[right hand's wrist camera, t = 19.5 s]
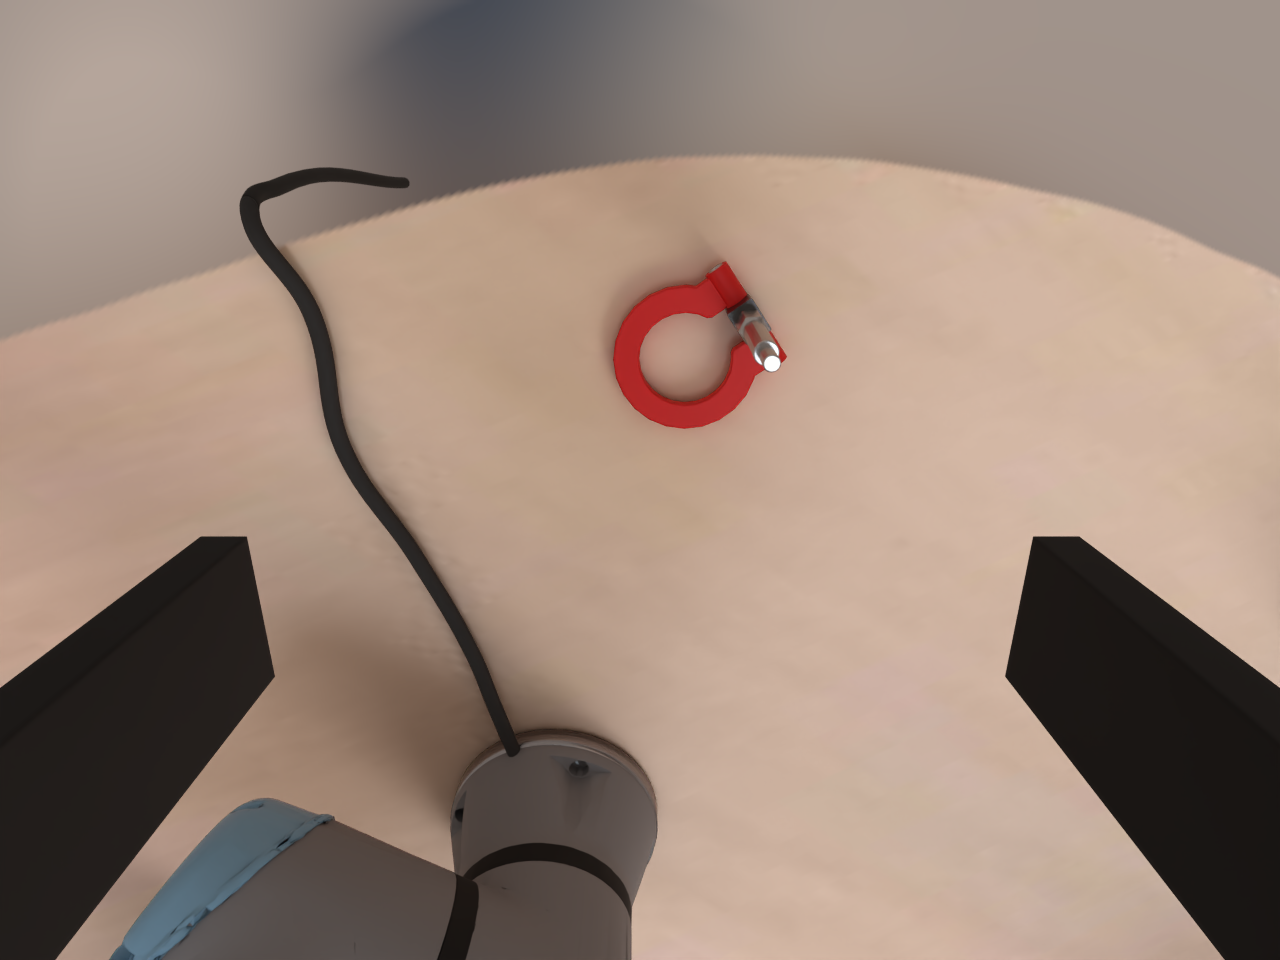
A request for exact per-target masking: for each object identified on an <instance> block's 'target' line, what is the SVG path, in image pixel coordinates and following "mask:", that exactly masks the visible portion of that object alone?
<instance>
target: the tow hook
mask: <svg viewBox="0 0 1280 960" xmlns="http://www.w3.org/2000/svg"><path fill="white" fill-rule="evenodd" d="M725 308H726V312H727V315H728V317H729V319H730V320H731V322H732V323H733V325H734V326H735V328H736V329H737V331H738V333H739V334H740V336H741V337H742V339H743V340H744V341H742V342H741V343H739V344H738V345H736V346H735V347H733V348H732V351H731V362H730V368H729V371H728V373H727V375H726V377H725V380H724V381H723V382H722V384H721V385H720V386H719V387H718V388H717V390H715V391H714V392H712V393H711V394H710V395H708V396H707V397H704V398H702V399H699V400H697V401H690V402H680V401H672V400H670V399H668V398H665V397H663V396H661V395H660V394H658V393H657V392H656V391H654V390H653V389H652V388H651V387H650V385H649V384H648V383H647V381H646V380H645V378H644V376H643V373H642V371H641V367H640V360H639V354H640V347H641V344H642V342H643V340H644V337H645V335H646V334H647V333H648V332H649V330H650V329H651V328H652V326H654V325H655V324H656V323H658V322H659V321H660V320H662V319H663V318H666V317H668V316H671V315H673V314H680V313H692V314H699V315H701V316H703V317H706V318H712V317H713V316H715V315H716V314H718V313H719V312H721V311H722V310H724V309H725ZM786 357H787V356H786V354H785V353H784V351H783V350H782V348H781V347H780V345H779V343H778V342H777V340H776V339H775V337H774V336H773V334H772V332H771V328H770V326H769V324H768V323H767V321H766V320H765V318H764V317H763V315H762V313H761V312H760V310H759V309H758V307H757V306H756V304H755V302H754V301H753V299H752V298H751V296H750V295H749V294H747V293H746V292H745V290H744V289H743V287H742V286H741V284H740V282H739V281H738V279H737V278H736V276H735V275H734V273H733V272H732V270H731V268H730V267H729V265H728V264H727V262H723V263H720V264H718V265H717V266H715V267H714V268H713V269H711V270H710V271H709V272H708V273H707V275H706V279H705V280H703V281H702V282H701V283H699V284H698V285H696V286H693V285H680V286H672V287H666V288H664V289H662V290H659V291H657V292H655V293H652V294H650V295H648V296H647V297H646V298H645V299H643V300H642V301H641V302H640V303H638V304H637V305H636V306H634V308H633V309H632V310H631V312H630V313H629V314H628V316H627V317H626V318H625V320H624V321H623V323H622V326H621V328H620V331H619V333H618V336H617V338H616V341H615V349H614V358H613V361H614V367H615V374H616V379H617V381H618V383H619V386H620V388H621V390H622V392H623V395H624V396H625V397H626V398H627V400H628V401H629V402H630V403H631V405H632V406H633V407H634V408H635V409H636V410H637V411H639V412H640V413H641V414H643V415H644V416H645V417H647V418H648V419H649V420H652V421H654V422H657V423H659V424H662V425H664V426H668V427H676V428H683V429H685V428H694V427H702V426H705V425H707V424H710V423H713V422H715V421H718V420H720V419H721V418H723V417H724V416H725V415H727V414H728V413H730V412H731V411H733V410H734V409H735V408H736V407H737V405H738V404H739V403H740V402H741V401H742V400H743V398H744V397H745V396H746V394H747V392H748V390H749V388H750V386H751V384H752V382H753V380H754V377H755V375H757V374H758V373H760V372H762V371H763V370H766V371H768V372H775V371H777V370H778V369H779V368H780V366H781V363H782V362H783V361H784V360H785V359H786Z"/></svg>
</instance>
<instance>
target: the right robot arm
mask: <svg viewBox="0 0 1280 960" xmlns="http://www.w3.org/2000/svg"><path fill="white" fill-rule="evenodd" d="M319 182H347V183H356V184H364V185H370V186H377V187H385V188H408V186H409V185H410V182H409V180H408V179H407V178H405V177H392V176H385V175H379V174H373V173H368V172H363V171H357V170H352V169H344V168H333V167H319V168H311V169H304V170H300V171H295V172H291V173H288V174H285V175H282V176H280V177H277V178H275V179H272V180H269V181H266V182H261V183H258V184H254V185H252V186H250V187H249V188H247V190H246V191H245V192H244V194H243V195H242V197H241V200H240V215H241V220H242V223H243V226H244V229H245V232H246V234H247V236H248V238H249V240H250V242H251V244H252V245H253V247H254V248H255V250H256V251H257V253H258V254H259V255H260V257H261V258H262V259H263V260H264V262H265V263H266V264H267V265H268V266H269V268H270V269H271V270H272V271H273V272H274V274H275V275H276V276H277V277H278V278H279V280H280V281H281V282H282V283H283V284H284V286H285V287H286V288H287V290H288V291H289V292H290V294H291V295H292V297H293V298H294V300H295V301H296V303H297V305H298V307H299V309H300V311H301V313H302V315H303V317H304V320H305V322H306V325H307V327H308V331H309V334H310V337H311V340H312V344H313V348H314V353H315V358H316V364H317V371H318V379H319V387H320V395H321V402H322V408H323V413H324V418H325V422H326V426H327V429H328V433H329V436H330V439H331V442H332V444H333V446H334V449H335V451H336V454H337V456H338V458H339V460H340V462H341V464H342V466H343V468H344V470H345V471H346V473H347V475H348V477H349V478H350V480H351V482H352V483H353V485H354V486H355V488H356V489H357V491H358V492H359V494H360V495H361V497H362V498H363V499H364V501H365V502H366V503H367V505H368V506H369V507H370V509H371V510H372V511H373V513H374V514H375V515H376V516H377V518H378V519H379V520H380V521H381V523H382V524H383V525H384V526H385V528H386V529H387V530H388V532H389V533H390V534H391V536H392V537H393V538H394V540H395V541H396V542H397V544H398V545H399V547H400V548H401V549H402V551H403V552H404V554H405V555H406V557H407V558H408V560H409V561H410V563H411V565H412V566H413V568H414V569H415V571H416V572H417V574H418V576H419V577H420V579H421V580H422V582H423V583H424V585H425V587H426V588H427V590H428V591H429V593H430V595H431V596H432V598H433V599H434V601H435V603H436V604H437V606H438V607H439V609H440V611H441V612H442V614H443V616H444V618H445V619H446V621H447V623H448V624H449V626H450V628H451V630H452V632H453V633H454V635H455V637H456V639H457V641H458V643H459V645H460V646H461V648H462V650H463V652H464V654H465V656H466V658H467V660H468V662H469V664H470V667H471V669H472V671H473V673H474V676H475V678H476V681H477V683H478V686H479V688H480V691H481V693H482V696H483V699H484V701H485V704H486V706H487V708H488V711H489V713H490V716H491V718H492V720H493V723H494V725H495V727H496V730H497V732H498V734H499V737H500V739H501V741H499V742H497V743H496V744H494V745H492V746H491V747H489V748H488V749H486V750H485V751H484V752H482V753H481V754H480V755H479V756H478V757H477V758H476V759H475V760H474V761H473V762H472V763H471V764H470V766H469V767H468V768H467V770H466V771H465V773H464V775H463V777H462V779H461V781H460V784H459V786H458V789H457V793H456V796H455V799H454V802H453V806H452V810H451V840H452V850H453V860H454V870H455V873H454V872H452V871H449V870H447V869H445V868H442V867H440V866H438V865H435V864H433V863H431V862H428V861H426V860H424V859H421V858H419V857H416V856H414V855H412V854H410V853H407V852H405V851H403V850H401V849H398V848H396V847H394V846H392V845H389V844H387V843H385V842H383V841H380V840H378V839H376V838H374V837H371V836H369V835H367V834H365V833H362V832H360V831H358V830H356V829H353V828H351V827H349V826H347V825H344V824H342V823H340V822H338V821H335V818H334V816H332V815H329V814H321V815H318V814H315V813H312V812H309V811H307V810H304V809H301V808H299V807H296V806H293V805H290V804H288V803H285V802H282V801H280V800H276V799H271V798H260V799H255V800H252V801H249V802H247V803H244V804H243V805H241V806H239V807H237V808H236V809H235V810H233V811H232V812H231V813H229V814H228V815H227V816H226V817H225V818H224V819H223V820H221V821H220V822H219V823H218V824H217V825H216V826H215V827H214V828H213V829H212V830H211V831H210V832H209V833H208V834H207V835H206V837H205V838H204V839H203V840H202V841H201V842H200V843H199V844H198V845H197V847H196V848H195V849H194V850H193V851H192V852H191V853H190V854H189V856H188V857H187V858H186V859H185V860H184V861H183V863H182V864H181V865H180V866H179V867H178V869H177V870H176V871H175V872H174V873H173V875H172V876H171V877H170V878H169V879H168V881H167V882H166V883H165V884H164V886H163V887H162V888H161V889H160V891H159V892H158V893H157V894H156V896H155V897H154V898H153V899H152V901H151V902H150V903H149V904H148V906H147V907H146V908H145V910H144V911H143V912H142V913H141V915H140V916H139V917H138V919H137V920H136V921H135V923H134V924H133V926H132V927H131V928H130V930H129V931H128V932H127V934H126V935H125V937H124V940H123V943H122V945H121V946H119V947H118V948H117V949H116V951H115V952H114V953H113V955H112V956H111V958H110V959H109V960H631V916H632V905H633V902H634V900H635V897H636V894H637V892H638V889H639V886H640V883H641V880H642V877H643V874H644V871H645V869H646V866H647V864H648V862H649V860H650V858H651V856H652V853H653V850H654V846H655V842H656V838H657V805H656V798H655V794H654V791H653V788H652V786H651V783H650V782H649V780H648V778H647V776H646V775H645V773H644V772H643V770H642V769H641V768H640V767H639V765H638V764H637V763H636V762H635V761H634V760H633V759H632V758H631V757H630V756H628V755H627V754H626V753H624V752H623V751H622V750H620V749H619V748H617V747H616V746H614V745H612V744H610V743H608V742H606V741H604V740H602V739H600V738H597V737H594V736H591V735H588V734H585V733H580V732H576V731H569V730H557V729H549V730H536V731H530V732H524V733H521V734H517V735H515V734H514V732H513V730H512V727H511V725H510V723H509V720H508V718H507V716H506V713H505V711H504V708H503V706H502V704H501V701H500V699H499V696H498V694H497V691H496V689H495V686H494V683H493V681H492V678H491V676H490V673H489V671H488V668H487V666H486V664H485V661H484V659H483V657H482V655H481V653H480V651H479V649H478V647H477V645H476V643H475V641H474V639H473V637H472V635H471V633H470V631H469V629H468V628H467V626H466V624H465V622H464V620H463V618H462V617H461V615H460V613H459V611H458V610H457V608H456V606H455V604H454V603H453V601H452V599H451V598H450V596H449V594H448V593H447V591H446V590H445V588H444V586H443V585H442V583H441V581H440V580H439V578H438V577H437V575H436V573H435V572H434V570H433V569H432V567H431V565H430V564H429V562H428V561H427V559H426V557H425V556H424V554H423V553H422V551H421V550H420V548H419V546H418V545H417V543H416V542H415V540H414V539H413V538H412V536H411V535H410V533H409V532H408V531H407V529H406V528H405V527H404V525H403V524H402V523H401V521H400V520H399V519H398V517H397V516H396V515H395V513H394V512H393V511H392V510H391V508H390V507H389V506H388V504H387V503H386V502H385V501H384V499H383V498H382V497H381V495H380V494H379V493H378V491H377V490H376V488H375V487H374V486H373V484H372V483H371V481H370V480H369V478H368V476H367V475H366V473H365V471H364V470H363V468H362V466H361V464H360V463H359V461H358V459H357V457H356V455H355V453H354V450H353V448H352V446H351V444H350V441H349V439H348V436H347V433H346V430H345V426H344V423H343V419H342V414H341V409H340V403H339V396H338V388H337V380H336V371H335V364H334V358H333V352H332V347H331V343H330V339H329V335H328V331H327V328H326V325H325V322H324V319H323V317H322V314H321V312H320V309H319V307H318V305H317V303H316V301H315V299H314V297H313V295H312V294H311V292H310V290H309V289H308V287H307V286H306V284H305V283H304V282H303V280H302V279H301V278H300V276H299V275H298V274H297V272H296V271H295V270H294V269H293V267H292V266H291V265H290V264H289V263H288V261H287V260H286V259H285V258H284V257H283V255H282V254H281V253H280V252H279V250H278V249H277V248H276V247H275V245H274V244H273V242H272V241H271V240H270V238H269V237H268V235H267V233H266V231H265V229H264V227H263V225H262V223H261V219H260V212H259V209H260V204H261V203H262V202H264V201H266V200H268V199H271V198H275V197H278V196H281V195H283V194H285V193H288V192H290V191H292V190H294V189H297V188H299V187H302V186H306V185H309V184H313V183H319ZM274 677H275V675H274V670H273V665H272V660H271V655H270V650H269V645H268V640H267V635H266V630H265V625H264V620H263V615H262V610H261V605H260V600H259V595H258V590H257V585H256V580H255V575H254V570H253V565H252V560H251V555H250V550H249V545H248V540H247V537H200V538H198V539H197V540H196V541H194V542H193V543H192V544H190V545H189V546H188V547H186V548H185V549H184V550H182V551H181V552H180V553H178V554H177V555H176V556H174V557H173V558H172V559H170V560H169V561H168V562H166V563H165V564H164V565H163V566H161V567H160V568H159V569H157V570H156V571H155V572H153V573H152V574H151V575H149V576H148V577H147V578H145V579H144V580H143V581H141V582H140V583H139V584H137V585H136V586H135V587H133V588H132V589H131V590H129V591H128V592H127V593H125V594H124V595H123V596H121V597H120V598H119V599H117V600H116V601H115V602H113V603H112V604H111V605H109V606H108V607H107V608H106V609H104V610H103V611H102V612H100V613H99V614H98V615H96V616H95V617H94V618H92V619H91V620H90V621H88V622H87V623H86V624H84V625H83V626H82V627H80V628H79V629H78V630H76V631H75V632H74V633H72V634H71V635H70V636H68V637H67V638H66V639H64V640H63V641H62V642H60V643H59V644H58V645H56V646H55V647H54V648H53V649H51V650H50V651H49V652H47V653H46V654H45V655H43V656H42V657H41V658H39V659H38V660H37V661H35V662H34V663H33V664H31V665H30V666H29V667H27V668H26V669H25V670H23V671H22V672H21V673H19V674H18V675H17V676H15V677H14V678H13V679H11V680H10V681H9V682H7V683H6V684H5V685H3V686H2V687H1V688H0V960H55V959H56V958H57V957H58V956H59V954H60V953H61V952H62V950H63V949H64V948H65V947H66V945H67V944H68V943H69V941H70V940H71V939H72V938H73V936H74V935H75V934H76V932H77V931H78V930H79V929H80V927H81V926H82V925H83V923H84V922H85V921H86V919H87V918H88V917H89V916H90V914H91V913H92V912H93V910H94V909H95V908H96V907H97V905H98V904H99V903H100V901H101V900H102V899H103V898H104V896H105V895H106V894H107V892H108V891H109V890H110V889H111V887H112V886H113V885H114V883H115V882H116V881H117V879H118V878H119V877H120V876H121V874H122V873H123V872H124V870H125V869H126V868H127V867H128V865H129V864H130V863H131V861H132V860H133V859H134V858H135V856H136V855H137V854H138V852H139V851H140V850H141V849H142V847H143V846H144V845H145V843H146V842H147V841H148V839H149V838H150V837H151V836H152V834H153V833H154V832H155V830H156V829H157V828H158V827H159V825H160V824H161V823H162V821H163V820H164V819H165V818H166V816H167V815H168V814H169V812H170V811H171V810H172V809H173V807H174V806H175V805H176V803H177V802H178V801H179V799H180V798H181V797H182V796H183V794H184V793H185V792H186V790H187V789H188V788H189V787H190V785H191V784H192V783H193V781H194V780H195V779H196V778H197V776H198V775H199V774H200V772H201V771H202V770H203V768H204V767H205V766H206V765H207V763H208V762H209V761H210V759H211V758H212V757H213V756H214V754H215V753H216V752H217V750H218V749H219V748H220V747H221V745H222V744H223V743H224V741H225V740H226V739H227V738H228V736H229V735H230V734H231V732H232V731H233V730H234V728H235V727H236V726H237V725H238V723H239V722H240V721H241V719H242V718H243V717H244V716H245V714H246V713H247V712H248V710H249V709H250V708H251V707H252V705H253V704H254V703H255V701H256V700H257V699H258V698H259V696H260V695H261V694H262V692H263V691H264V690H265V688H266V687H267V686H268V685H269V683H270V682H271V681H272V679H273V678H274ZM1005 677H1006V678H1007V679H1008V681H1009V682H1010V683H1011V685H1012V686H1013V687H1014V688H1015V690H1016V691H1017V692H1018V694H1019V695H1020V696H1021V698H1022V699H1023V700H1024V701H1025V703H1026V704H1027V705H1028V707H1029V708H1030V709H1031V710H1032V712H1033V713H1034V714H1035V716H1036V717H1037V718H1038V719H1039V721H1040V722H1041V723H1042V725H1043V726H1044V727H1045V728H1046V730H1047V731H1048V732H1049V734H1050V735H1051V736H1052V738H1053V739H1054V740H1055V741H1056V743H1057V744H1058V745H1059V747H1060V748H1061V749H1062V750H1063V752H1064V753H1065V754H1066V756H1067V757H1068V758H1069V759H1070V761H1071V762H1072V763H1073V765H1074V766H1075V767H1076V768H1077V770H1078V771H1079V772H1080V774H1081V775H1082V776H1083V778H1084V779H1085V780H1086V781H1087V783H1088V784H1089V785H1090V787H1091V788H1092V789H1093V790H1094V792H1095V793H1096V794H1097V796H1098V797H1099V798H1100V799H1101V801H1102V802H1103V803H1104V805H1105V806H1106V807H1107V809H1108V810H1109V811H1110V812H1111V814H1112V815H1113V816H1114V818H1115V819H1116V820H1117V821H1118V823H1119V824H1120V825H1121V827H1122V828H1123V829H1124V830H1125V832H1126V833H1127V834H1128V836H1129V837H1130V838H1131V839H1132V841H1133V842H1134V843H1135V845H1136V846H1137V847H1138V849H1139V850H1140V851H1141V852H1142V854H1143V855H1144V856H1145V858H1146V859H1147V860H1148V861H1149V863H1150V864H1151V865H1152V867H1153V868H1154V869H1155V870H1156V872H1157V873H1158V874H1159V876H1160V877H1161V878H1162V879H1163V881H1164V882H1165V883H1166V885H1167V886H1168V887H1169V889H1170V890H1171V891H1172V892H1173V894H1174V895H1175V896H1176V898H1177V899H1178V900H1179V901H1180V903H1181V904H1182V905H1183V907H1184V908H1185V909H1186V910H1187V912H1188V913H1189V914H1190V916H1191V917H1192V918H1193V919H1194V921H1195V922H1196V923H1197V925H1198V926H1199V927H1200V929H1201V930H1202V931H1203V932H1204V934H1205V935H1206V936H1207V938H1208V939H1209V940H1210V941H1211V943H1212V944H1213V945H1214V947H1215V948H1216V949H1217V950H1218V952H1219V953H1220V954H1221V956H1222V957H1223V958H1224V959H1225V960H1280V688H1279V687H1278V686H1277V685H1275V684H1274V683H1273V682H1271V681H1270V680H1269V679H1267V678H1266V677H1265V676H1263V675H1262V674H1261V673H1259V672H1258V671H1257V670H1255V669H1254V668H1253V667H1251V666H1250V665H1249V664H1247V663H1246V662H1245V661H1243V660H1242V659H1241V658H1239V657H1238V656H1237V655H1235V654H1234V653H1233V652H1231V651H1230V650H1229V649H1227V648H1226V647H1225V646H1224V645H1222V644H1221V643H1220V642H1218V641H1217V640H1216V639H1214V638H1213V637H1212V636H1210V635H1209V634H1208V633H1206V632H1205V631H1204V630H1202V629H1201V628H1200V627H1198V626H1197V625H1196V624H1194V623H1193V622H1192V621H1190V620H1189V619H1188V618H1186V617H1185V616H1184V615H1182V614H1181V613H1180V612H1178V611H1177V610H1176V609H1174V608H1173V607H1172V606H1171V605H1169V604H1168V603H1167V602H1165V601H1164V600H1163V599H1161V598H1160V597H1159V596H1157V595H1156V594H1155V593H1153V592H1152V591H1151V590H1149V589H1148V588H1147V587H1145V586H1144V585H1143V584H1141V583H1140V582H1139V581H1137V580H1136V579H1135V578H1133V577H1132V576H1131V575H1129V574H1128V573H1127V572H1125V571H1124V570H1123V569H1121V568H1120V567H1119V566H1117V565H1116V564H1115V563H1114V562H1112V561H1111V560H1110V559H1108V558H1107V557H1106V556H1104V555H1103V554H1102V553H1100V552H1099V551H1098V550H1096V549H1095V548H1094V547H1092V546H1091V545H1090V544H1088V543H1087V542H1086V541H1084V540H1083V539H1082V538H1080V537H1033V540H1032V545H1031V550H1030V555H1029V560H1028V565H1027V570H1026V575H1025V580H1024V585H1023V590H1022V595H1021V600H1020V605H1019V610H1018V615H1017V620H1016V625H1015V630H1014V635H1013V640H1012V645H1011V650H1010V655H1009V660H1008V665H1007V670H1006V675H1005Z"/></svg>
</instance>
